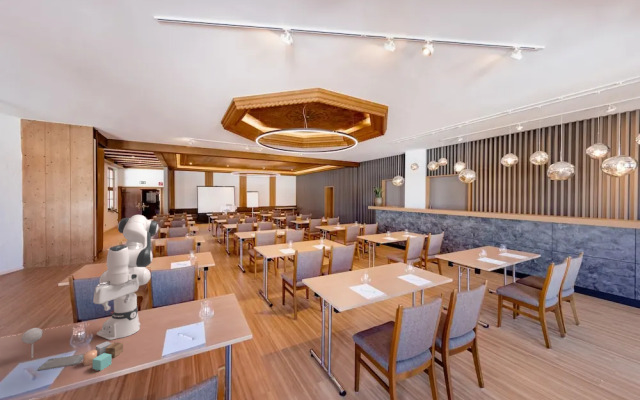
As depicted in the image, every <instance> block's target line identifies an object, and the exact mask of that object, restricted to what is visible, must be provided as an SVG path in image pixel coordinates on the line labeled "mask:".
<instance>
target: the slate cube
mask: <svg viewBox="0 0 640 400" xmlns="http://www.w3.org/2000/svg"><path fill="white" fill-rule="evenodd" d="M111 344H112V343H111V342H109V340H108V341H107V340H106V341H105V342H102V343H99V344H97V345H95V350H97V357H98V356H99V355H101V354H103V353H106V347H108V346H109V345H111Z"/></svg>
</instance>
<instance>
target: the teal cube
mask: <svg viewBox="0 0 640 400" xmlns="http://www.w3.org/2000/svg"><path fill="white" fill-rule="evenodd" d="M112 361H113V360H112V354H106V353H103V354H101V355H99V356H97V357H96V358H94V359H93V364H92V370H93V369H95V371H98V370H100V371H99V372H101V370H102V371H104V368H105V369H107V368H108V367H109V365H110V366H111V365H112Z"/></svg>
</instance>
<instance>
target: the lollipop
mask: <svg viewBox="0 0 640 400" xmlns="http://www.w3.org/2000/svg"><path fill="white" fill-rule="evenodd" d="M43 334H44V333H43V329H41V328H39V327H33V328H29V329H28V330H26V331H25V332H23V334H22V336H21V341H22V343H24V344H27V345H28V344H31V350H30V354H31V356H30V357H31V359H33V358H34V343H36V342H38V341H39V340H40V339H41V338H42V336H43Z"/></svg>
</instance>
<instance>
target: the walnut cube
mask: <svg viewBox="0 0 640 400" xmlns="http://www.w3.org/2000/svg"><path fill="white" fill-rule="evenodd" d="M123 352H124V342H117V341H115V342H113V343H111V345H109V346H108V347H106V354H112V358H117V357H118V356H119V355H120V354H122V353H123Z"/></svg>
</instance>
